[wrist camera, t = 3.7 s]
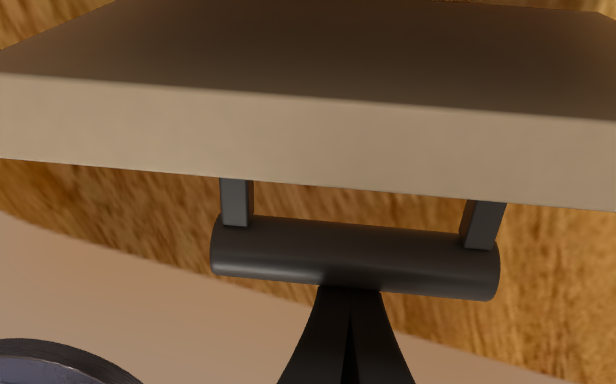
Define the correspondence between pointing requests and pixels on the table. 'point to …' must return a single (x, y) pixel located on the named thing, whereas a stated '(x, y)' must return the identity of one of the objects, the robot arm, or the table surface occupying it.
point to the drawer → (332, 121)
